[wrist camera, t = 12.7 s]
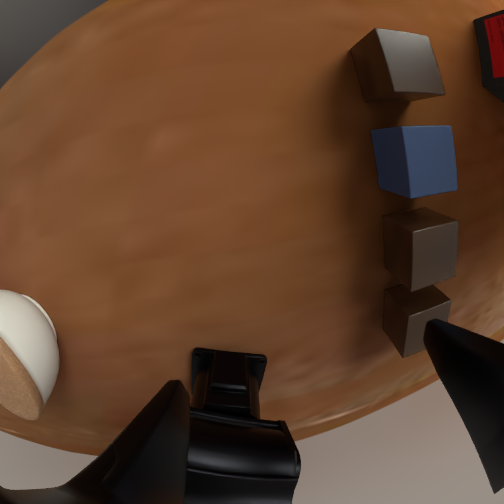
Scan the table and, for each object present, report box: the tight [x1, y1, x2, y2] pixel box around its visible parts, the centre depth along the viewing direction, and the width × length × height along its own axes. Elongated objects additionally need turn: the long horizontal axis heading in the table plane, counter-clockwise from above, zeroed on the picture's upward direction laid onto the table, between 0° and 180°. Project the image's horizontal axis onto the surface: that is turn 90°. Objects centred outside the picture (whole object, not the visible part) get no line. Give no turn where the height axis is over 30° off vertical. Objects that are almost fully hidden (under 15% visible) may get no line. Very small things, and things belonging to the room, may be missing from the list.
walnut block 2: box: [382, 207, 459, 292], centre depth 18 cm, size 4×4×4 cm
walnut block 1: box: [350, 28, 445, 102], centre depth 13 cm, size 4×4×4 cm
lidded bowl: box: [0, 290, 59, 420], centre depth 17 cm, size 13×13×11 cm
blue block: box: [371, 125, 458, 199], centre depth 15 cm, size 4×4×4 cm
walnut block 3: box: [383, 284, 451, 358], centre depth 20 cm, size 4×4×4 cm
